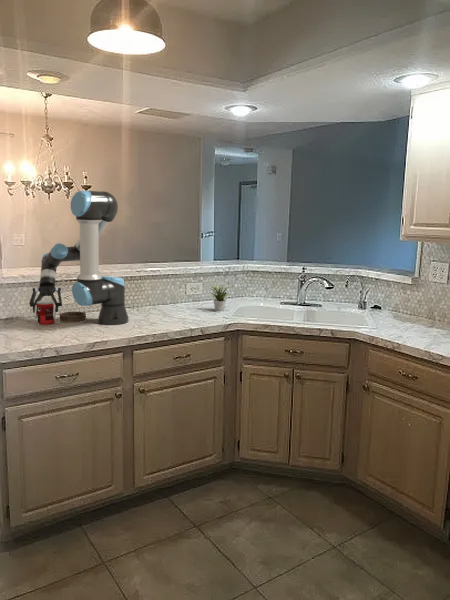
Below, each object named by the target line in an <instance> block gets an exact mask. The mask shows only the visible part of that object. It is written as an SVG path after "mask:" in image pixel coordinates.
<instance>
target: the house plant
mask: <svg viewBox="0 0 450 600" xmlns="http://www.w3.org/2000/svg"><path fill="white" fill-rule="evenodd" d="M221 285H222V284H220V285H219V288H218V287H217V285H216V284H214V285H213V286H212V285H210V287H211V288H209V289H211V291H213V292H211V293H210V295H211V296H212V297H213V298H215V299H213V305H214V311H215V312H217V311H223V312H225V308H226V302H227V299H225V297H226V298H228V292H226V291H227V289H228V288H229V287H230V285H228V286H227V287H226V288H224V285H222V286H221ZM223 289H224V290H223Z"/></svg>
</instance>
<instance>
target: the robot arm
mask: <svg viewBox="0 0 450 600" xmlns="http://www.w3.org/2000/svg"><path fill="white" fill-rule="evenodd" d="M118 210H119V204H118V201H117V199H116V197H115V196H114V195H113V194H112V193H110V192H108V191H100V190H99V191H98V190H79V191H76V192H75V193H74V194H73V196H72V198H71V200H70V211H71V214H72V215H73V216H74V217H75V220H76V221H77V222H78V224H79V238H78V240H77V241H76V243H75V244H74V245H73V246H67V245H66V244H62V243H55V244H54V245H53V246H52V248H51V249H50V251H49V252H48V253H45V254H43V255H42V259H41V267H40V278H39V285H38V288H35V287H33V288H32V293H31V297H30V300H29V306H30V307H31V308H32V313H33V314H34V315H33V316H34V320H38V319H37V302H38V301H42V299H43V298H44V297H47V296H48V297H51V301H53V302H54V309H53V318H54V320H55V319H56V315H57V313H58V312H59V307H62V306H63V301H62V296H61V294H62V288H61V287H58V288H57V287H56V282H57V281H56V280H57V279H56V278H57V268H58V267H59V265H60V264H61V263H63V262H75V261H76V262H78V261H79V275H78V276H77V277H76V281H75V283H73V285H72V286H71V294H72V296H73V299H74V300H75V302H76V304H78V305H79V306H81V307H87V306H89V307H90V306H94V305H99V304H101V306H100V311H99V314H98V317H97V322H98V323H99V324H101V325H123V324H126V323H128V322H129V315H128V312H127V309H126V304H125V303H126V301H125V300H126V299H125V295H126V293H125V287H126V286H125V279H124V278H122V277H120V276H109V275H102V276H101V275H100V270H99V267H100V266H99V265H100V263H99V261H100V260H99V259H100V258H99V253H100V252H99V247H100V246H99V237H100V236H101V234H103V231H104V230H105V228H106V227H107V226H108V224H109V223H111V222H113V221H114V219H115V218H116V216H117V215H118V214H117V213H118ZM55 292H56V293H57V297H58V298H57V299H58V301H57V299H56V297H55V294H54V293H55ZM38 293H39V294H38ZM37 294H38V295H37Z"/></svg>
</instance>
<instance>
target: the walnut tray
mask: <svg viewBox="0 0 450 600" xmlns="http://www.w3.org/2000/svg"><path fill="white" fill-rule="evenodd" d="M86 320H87V314H86V312H84V311H66V312H61V313H59V321H60V322H61V323H69V324H70V323H73V324H74V323H80V322H85V321H86Z"/></svg>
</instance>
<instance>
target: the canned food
mask: <svg viewBox="0 0 450 600" xmlns="http://www.w3.org/2000/svg"><path fill="white" fill-rule="evenodd" d="M54 305H55V304H54V302H53V300H47V299H46V300H40V301H38V302H37V319H36V320H37V324H38V325H40V326H50V325H54V324H55V319H54V318H53V309H54Z"/></svg>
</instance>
